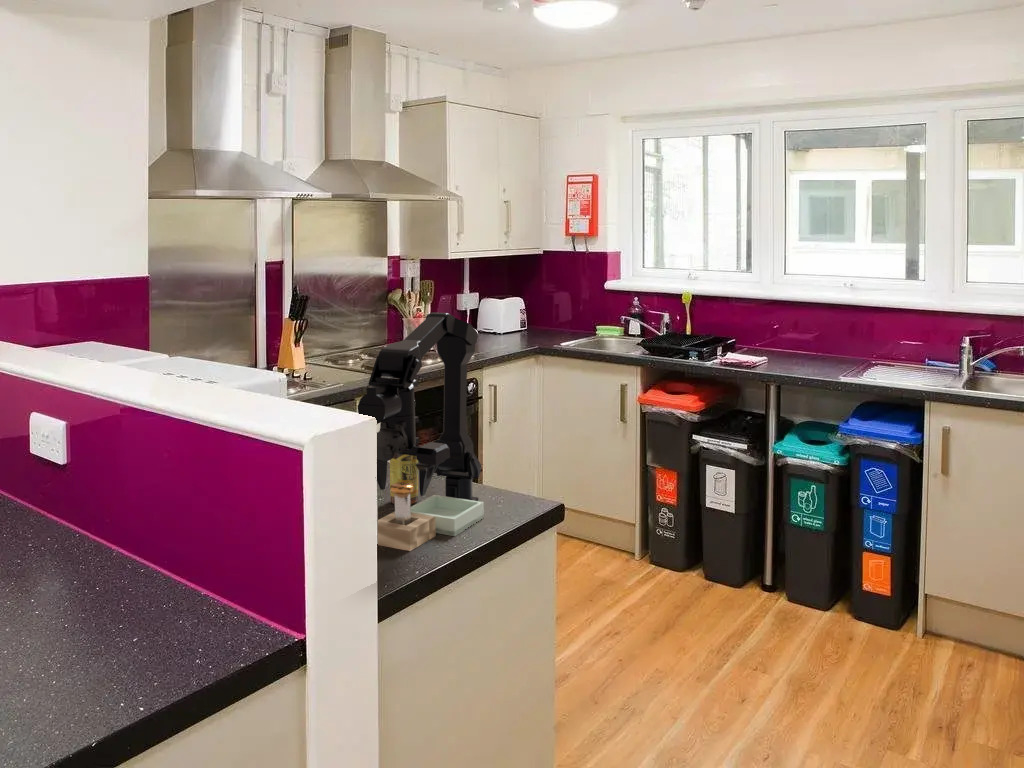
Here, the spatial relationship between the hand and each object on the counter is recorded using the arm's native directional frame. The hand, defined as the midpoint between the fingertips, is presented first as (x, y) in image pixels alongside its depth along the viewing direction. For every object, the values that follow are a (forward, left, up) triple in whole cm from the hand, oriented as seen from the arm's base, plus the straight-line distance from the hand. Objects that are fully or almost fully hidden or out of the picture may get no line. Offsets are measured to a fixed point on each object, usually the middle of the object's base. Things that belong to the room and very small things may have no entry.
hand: (402, 492), depth 171 cm
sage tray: (-12, +2, -10) cm, 15 cm away
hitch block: (0, 0, -10) cm, 10 cm away
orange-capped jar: (0, 0, -10) cm, 10 cm away
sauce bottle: (-20, -13, -10) cm, 26 cm away
